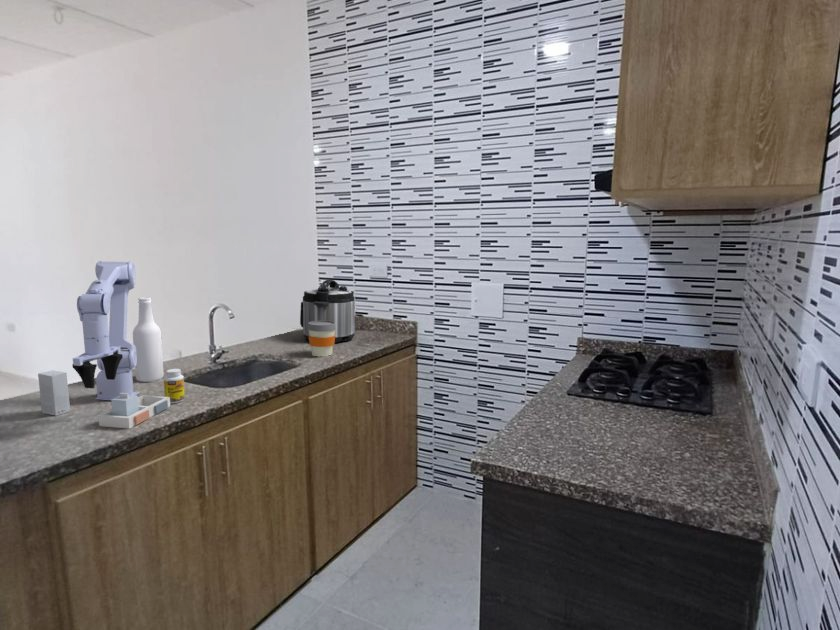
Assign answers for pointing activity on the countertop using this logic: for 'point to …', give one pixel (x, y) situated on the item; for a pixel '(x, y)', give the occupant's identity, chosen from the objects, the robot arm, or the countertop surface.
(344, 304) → the pressure cooker
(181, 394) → the supplement bottle
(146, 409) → the white divided frame
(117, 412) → the plug
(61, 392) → the skincare box
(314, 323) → the reusable coffee cup
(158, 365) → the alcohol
